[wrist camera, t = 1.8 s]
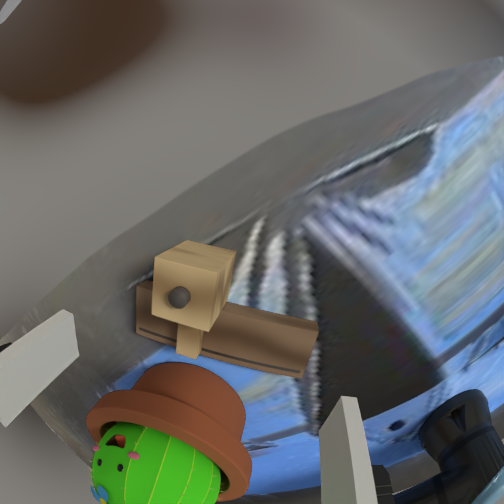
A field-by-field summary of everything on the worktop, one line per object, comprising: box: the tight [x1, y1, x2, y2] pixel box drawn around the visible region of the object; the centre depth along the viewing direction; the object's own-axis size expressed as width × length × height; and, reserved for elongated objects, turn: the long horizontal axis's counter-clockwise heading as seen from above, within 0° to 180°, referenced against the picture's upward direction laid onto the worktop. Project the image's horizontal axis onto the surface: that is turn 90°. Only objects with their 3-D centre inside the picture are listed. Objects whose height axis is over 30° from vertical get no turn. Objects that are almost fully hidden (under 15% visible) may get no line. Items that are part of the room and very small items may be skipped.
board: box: [136, 280, 319, 379], centre depth 32 cm, size 7×22×3 cm, turn 79°
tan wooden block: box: [152, 240, 236, 359], centre depth 28 cm, size 12×6×9 cm, turn 169°
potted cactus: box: [86, 362, 252, 504], centre depth 25 cm, size 22×22×25 cm
